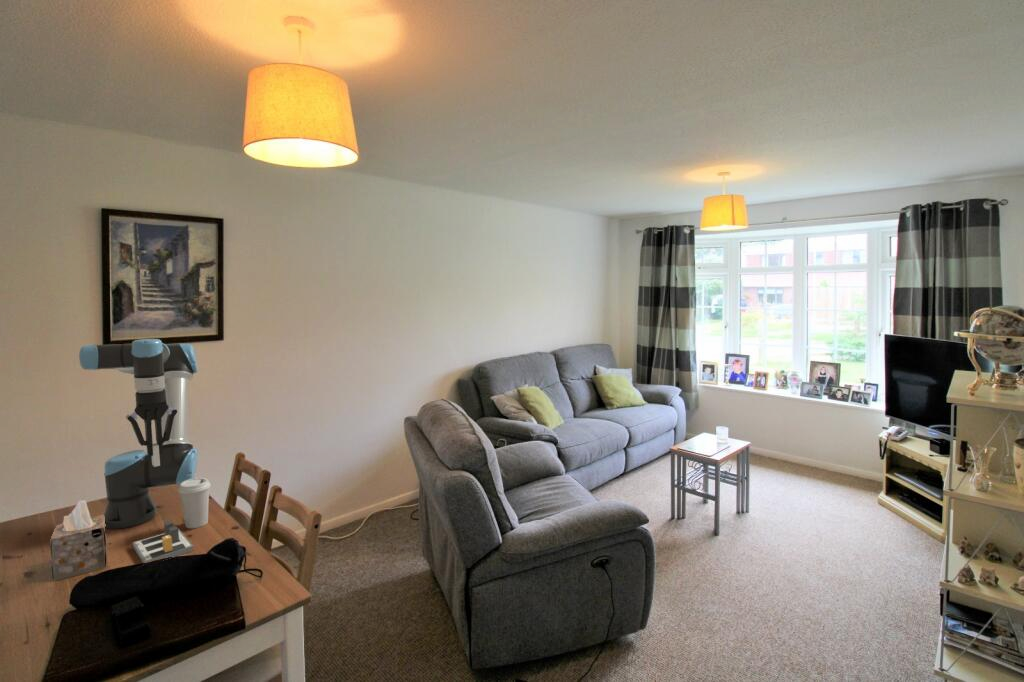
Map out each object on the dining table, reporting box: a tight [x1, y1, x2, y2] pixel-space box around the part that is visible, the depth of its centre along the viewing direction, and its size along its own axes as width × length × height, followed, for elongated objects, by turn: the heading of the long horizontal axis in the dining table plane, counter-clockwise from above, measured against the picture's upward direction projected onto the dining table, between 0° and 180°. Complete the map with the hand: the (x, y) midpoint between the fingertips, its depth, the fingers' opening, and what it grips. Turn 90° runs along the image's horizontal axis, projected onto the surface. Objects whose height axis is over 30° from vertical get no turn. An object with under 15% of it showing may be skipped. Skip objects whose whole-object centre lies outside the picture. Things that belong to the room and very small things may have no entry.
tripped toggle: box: [162, 535, 173, 552], centre depth 154 cm, size 2×2×4 cm
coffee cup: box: [177, 477, 212, 529], centre depth 174 cm, size 10×10×15 cm
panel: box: [132, 520, 194, 564], centre depth 158 cm, size 16×12×6 cm
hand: (156, 465), depth 157 cm, fingers closed
